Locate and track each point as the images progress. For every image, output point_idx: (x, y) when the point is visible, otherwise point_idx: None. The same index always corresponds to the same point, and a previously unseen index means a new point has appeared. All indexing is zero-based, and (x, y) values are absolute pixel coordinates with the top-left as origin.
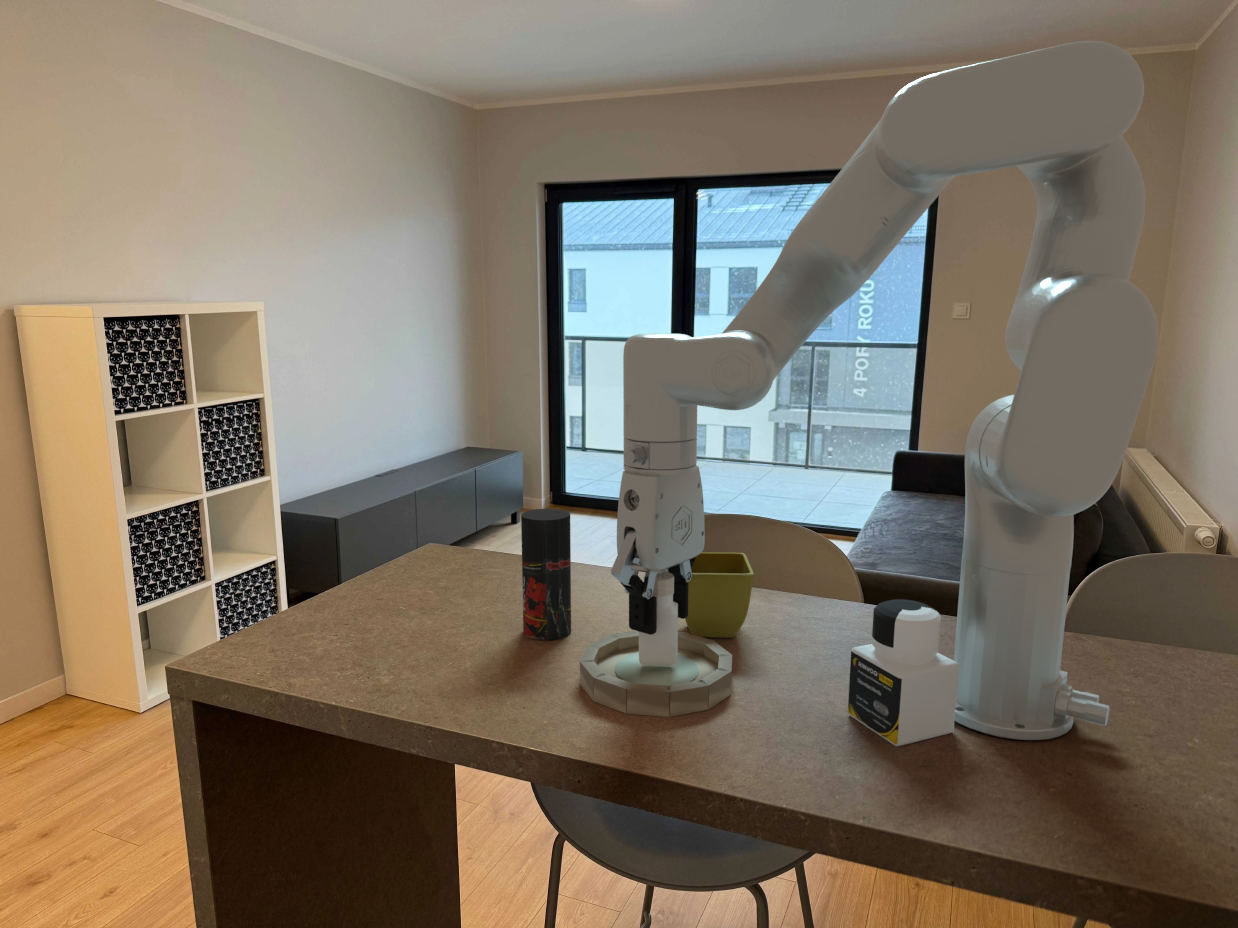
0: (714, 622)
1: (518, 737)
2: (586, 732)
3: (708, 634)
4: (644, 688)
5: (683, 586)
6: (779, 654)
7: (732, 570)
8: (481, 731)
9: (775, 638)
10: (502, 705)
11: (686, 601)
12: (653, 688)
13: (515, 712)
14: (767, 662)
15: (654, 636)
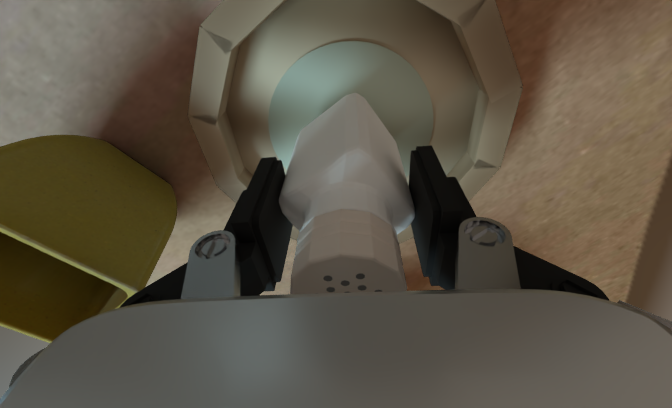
0: (126, 174)
1: (654, 144)
2: (602, 75)
3: (147, 171)
4: (501, 58)
5: (258, 219)
6: (39, 12)
7: None
8: (647, 191)
9: (8, 77)
10: (555, 221)
11: (259, 182)
12: (491, 41)
13: (570, 198)
14: (93, 5)
15: (390, 154)
